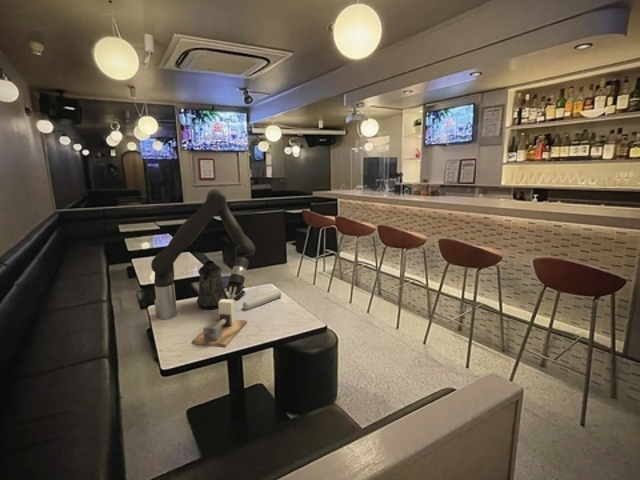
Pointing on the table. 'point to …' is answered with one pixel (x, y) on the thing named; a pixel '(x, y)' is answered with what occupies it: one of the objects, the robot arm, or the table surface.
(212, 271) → the beer stein
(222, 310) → the sleeve
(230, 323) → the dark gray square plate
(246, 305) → the tube
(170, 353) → the table surface
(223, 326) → the pipe stand
